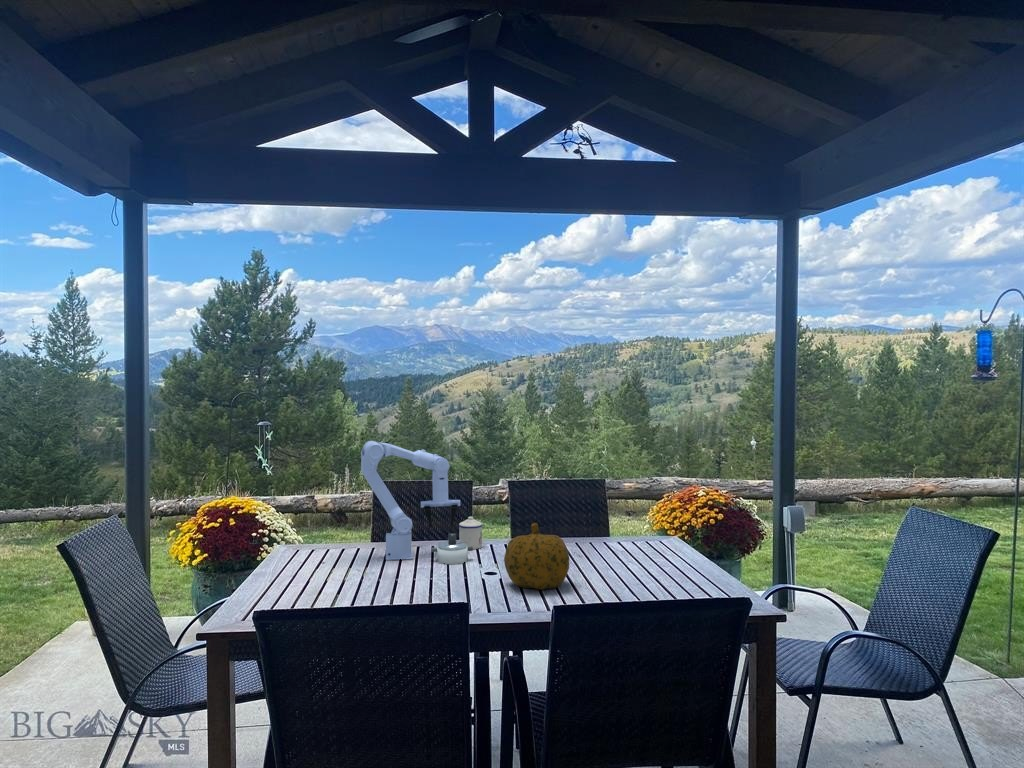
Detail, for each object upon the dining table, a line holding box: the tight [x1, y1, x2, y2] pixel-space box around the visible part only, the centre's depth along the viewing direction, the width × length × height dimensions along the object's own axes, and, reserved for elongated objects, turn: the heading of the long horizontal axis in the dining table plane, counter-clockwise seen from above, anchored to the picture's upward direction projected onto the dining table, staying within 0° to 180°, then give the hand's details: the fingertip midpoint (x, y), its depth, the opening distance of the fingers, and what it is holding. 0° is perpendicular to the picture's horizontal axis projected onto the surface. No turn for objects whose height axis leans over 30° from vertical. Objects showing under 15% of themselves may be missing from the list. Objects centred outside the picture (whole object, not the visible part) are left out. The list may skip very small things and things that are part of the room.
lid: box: [437, 532, 466, 550], centre depth 260 cm, size 10×10×4 cm
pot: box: [431, 545, 474, 565], centre depth 260 cm, size 15×11×5 cm
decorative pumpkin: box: [503, 522, 570, 591], centre depth 229 cm, size 20×21×20 cm
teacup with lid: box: [458, 516, 483, 550], centre depth 282 cm, size 12×9×12 cm
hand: (441, 525), depth 270 cm, fingers open, 7 cm apart
